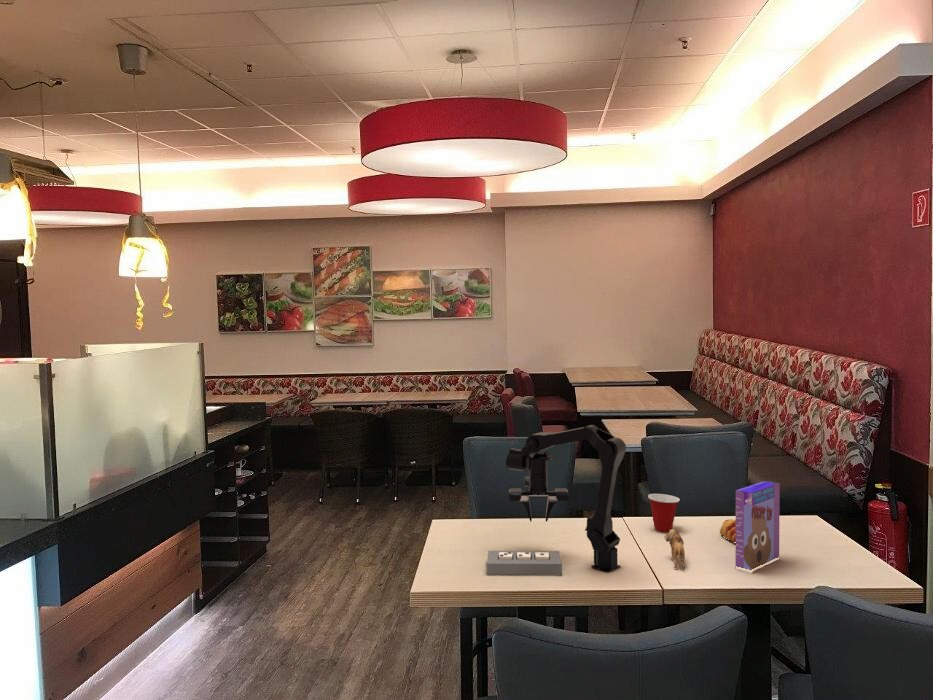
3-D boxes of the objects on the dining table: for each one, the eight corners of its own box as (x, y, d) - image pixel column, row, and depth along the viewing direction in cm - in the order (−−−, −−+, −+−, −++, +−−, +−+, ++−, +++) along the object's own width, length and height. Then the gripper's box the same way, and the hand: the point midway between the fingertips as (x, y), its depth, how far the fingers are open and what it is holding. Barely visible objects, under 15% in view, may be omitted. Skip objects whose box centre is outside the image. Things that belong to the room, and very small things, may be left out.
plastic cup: (683, 534, 263) (683, 500, 262) (651, 535, 263) (651, 500, 262) (675, 525, 273) (675, 492, 273) (645, 526, 274) (645, 492, 273)
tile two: (530, 558, 234) (530, 551, 233) (530, 562, 230) (530, 556, 229) (517, 558, 234) (517, 551, 234) (517, 562, 230) (517, 555, 230)
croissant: (721, 538, 269) (710, 518, 270) (747, 525, 268) (736, 505, 268) (734, 556, 248) (721, 535, 249) (762, 543, 247) (750, 521, 247)
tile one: (548, 558, 233) (548, 551, 233) (549, 562, 229) (549, 556, 229) (535, 558, 233) (535, 551, 233) (535, 562, 229) (535, 556, 229)
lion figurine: (663, 556, 241) (662, 527, 240) (679, 555, 241) (679, 527, 240) (675, 572, 226) (675, 542, 226) (693, 571, 226) (693, 541, 226)
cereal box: (750, 573, 224) (750, 492, 223) (735, 569, 228) (735, 489, 226) (779, 559, 236) (779, 482, 234) (764, 556, 239) (764, 480, 238)
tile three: (512, 558, 234) (512, 551, 234) (512, 562, 230) (512, 555, 230) (499, 558, 234) (499, 551, 234) (499, 562, 230) (498, 555, 230)
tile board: (559, 561, 237) (559, 550, 237) (561, 575, 225) (561, 563, 225) (488, 561, 238) (488, 550, 238) (487, 574, 227) (486, 563, 226)
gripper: (566, 467, 249) (566, 514, 250) (508, 467, 251) (509, 514, 251) (568, 474, 238) (568, 524, 239) (508, 474, 240) (509, 523, 240)
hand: (538, 521), depth 243 cm, fingers open, 5 cm apart
